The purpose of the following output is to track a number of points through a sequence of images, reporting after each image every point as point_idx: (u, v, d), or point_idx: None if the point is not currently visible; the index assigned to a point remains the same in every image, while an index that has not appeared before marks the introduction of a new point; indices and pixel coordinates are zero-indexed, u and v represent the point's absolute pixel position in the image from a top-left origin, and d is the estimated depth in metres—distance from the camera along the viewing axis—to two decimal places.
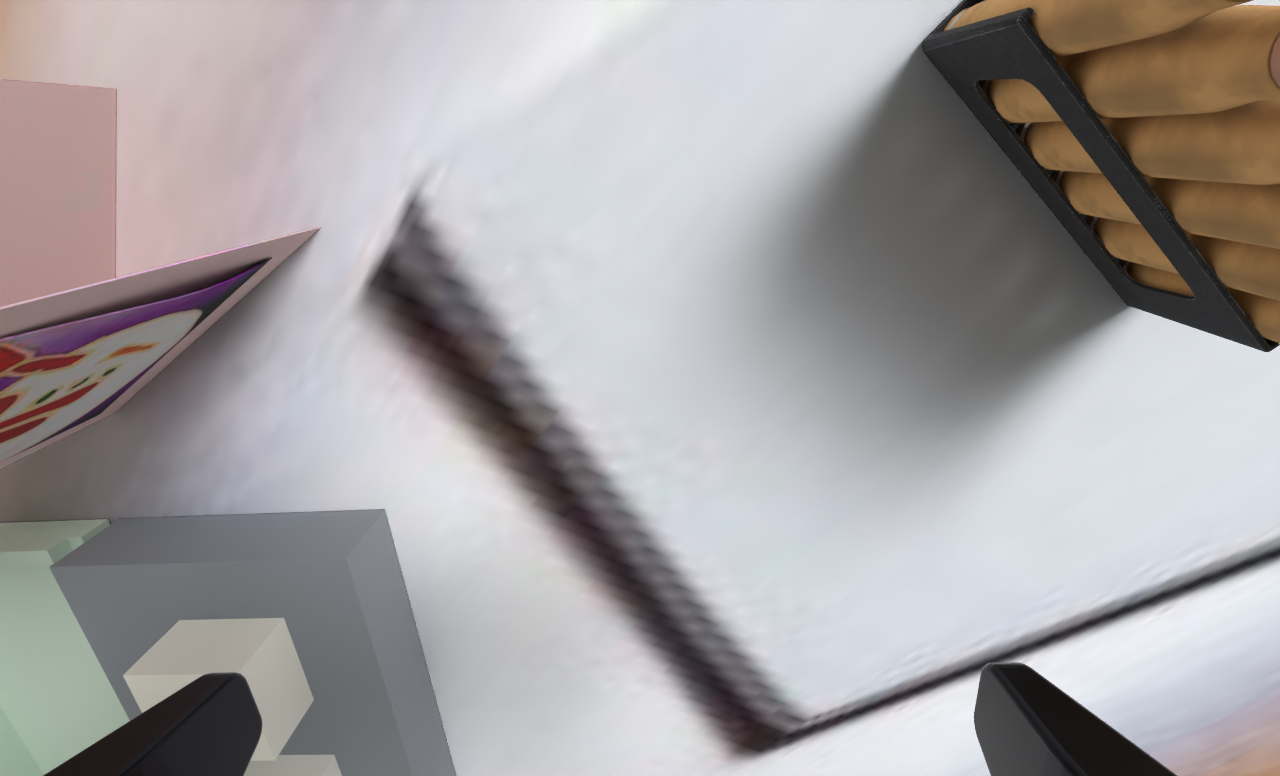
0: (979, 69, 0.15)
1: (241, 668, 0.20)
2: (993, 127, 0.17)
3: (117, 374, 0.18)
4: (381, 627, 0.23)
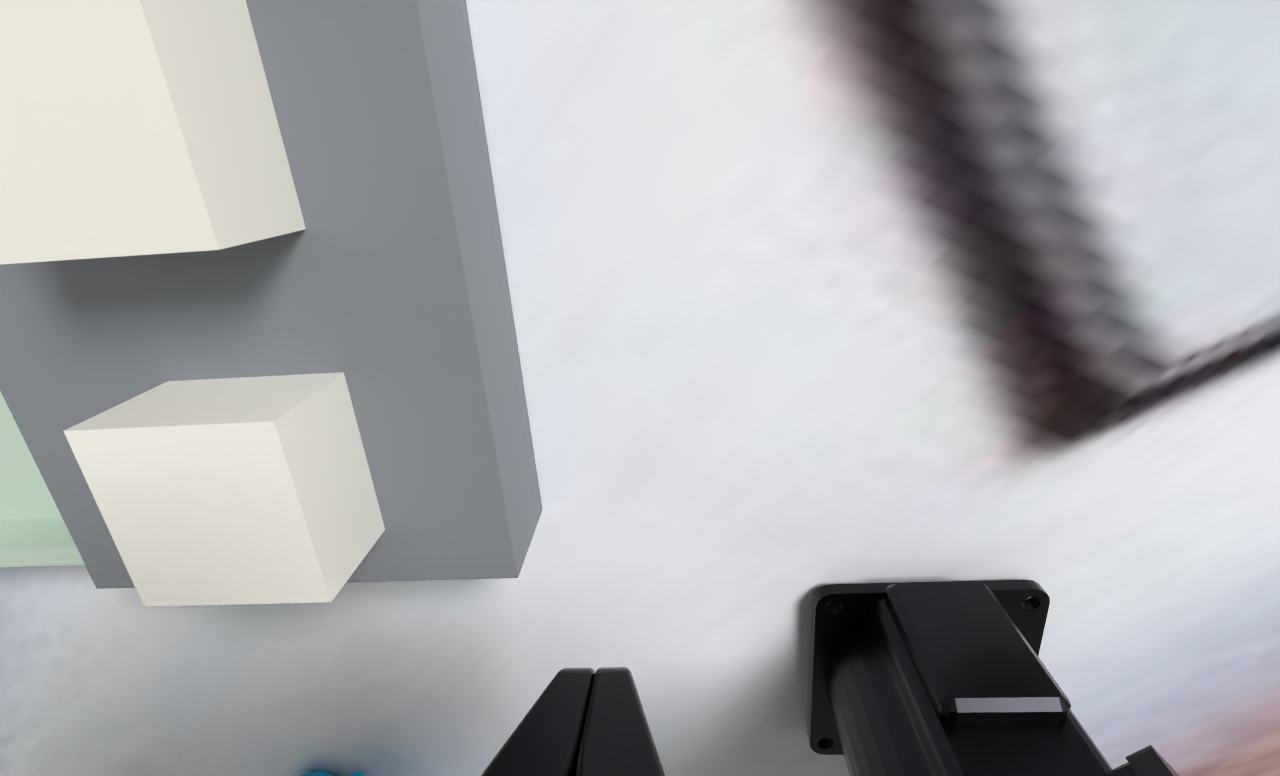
0: None
1: None
2: None
3: None
4: (441, 63, 0.12)
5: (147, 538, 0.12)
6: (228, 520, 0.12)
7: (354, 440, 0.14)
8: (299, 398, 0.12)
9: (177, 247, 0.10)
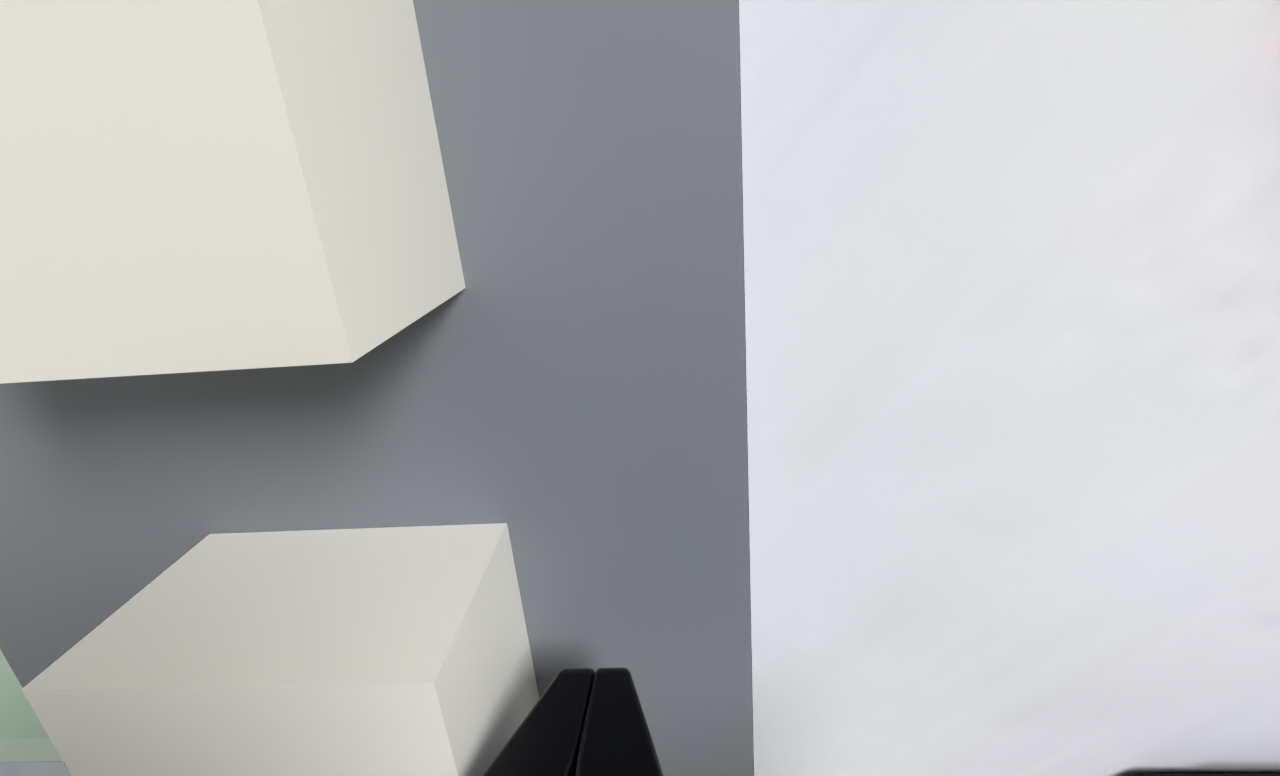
0: None
1: None
2: None
3: None
4: None
5: None
6: None
7: (519, 632, 0.08)
8: (457, 601, 0.06)
9: (260, 357, 0.04)
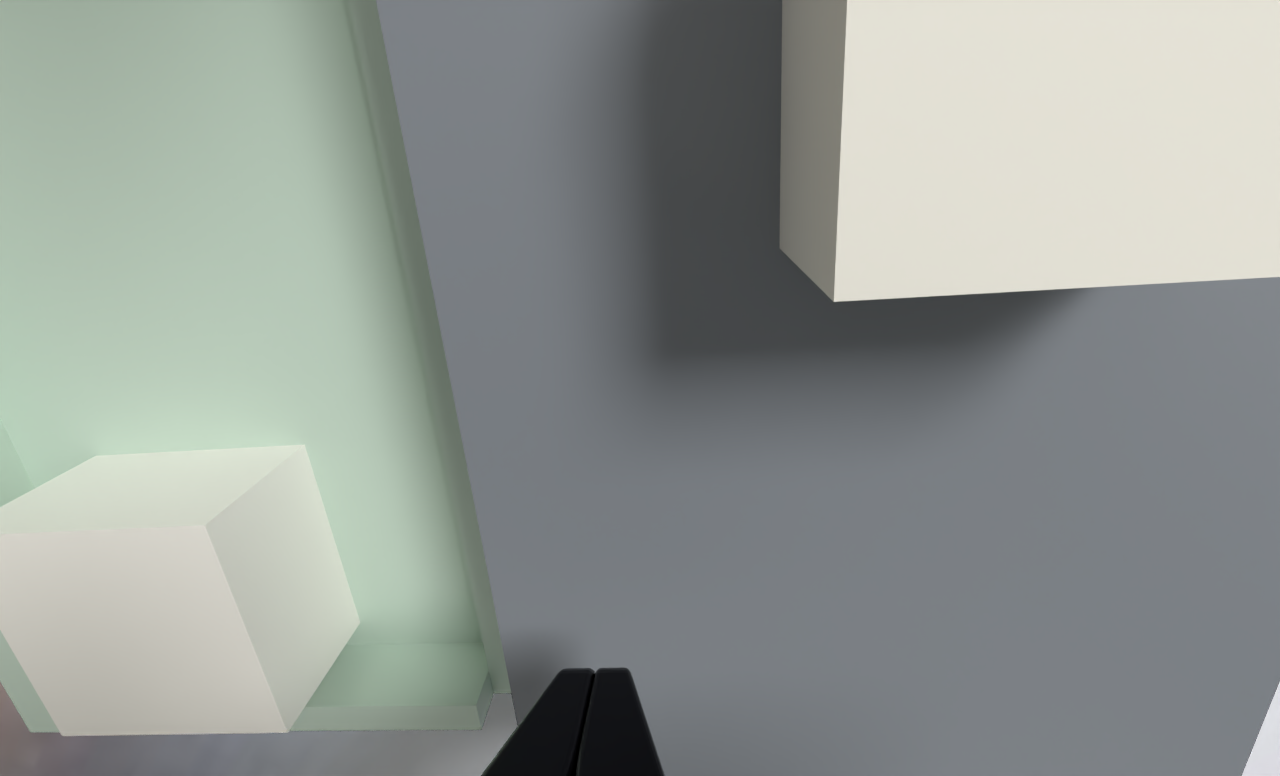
0: None
1: None
2: None
3: None
4: None
5: None
6: None
7: None
8: (48, 485, 0.10)
9: None
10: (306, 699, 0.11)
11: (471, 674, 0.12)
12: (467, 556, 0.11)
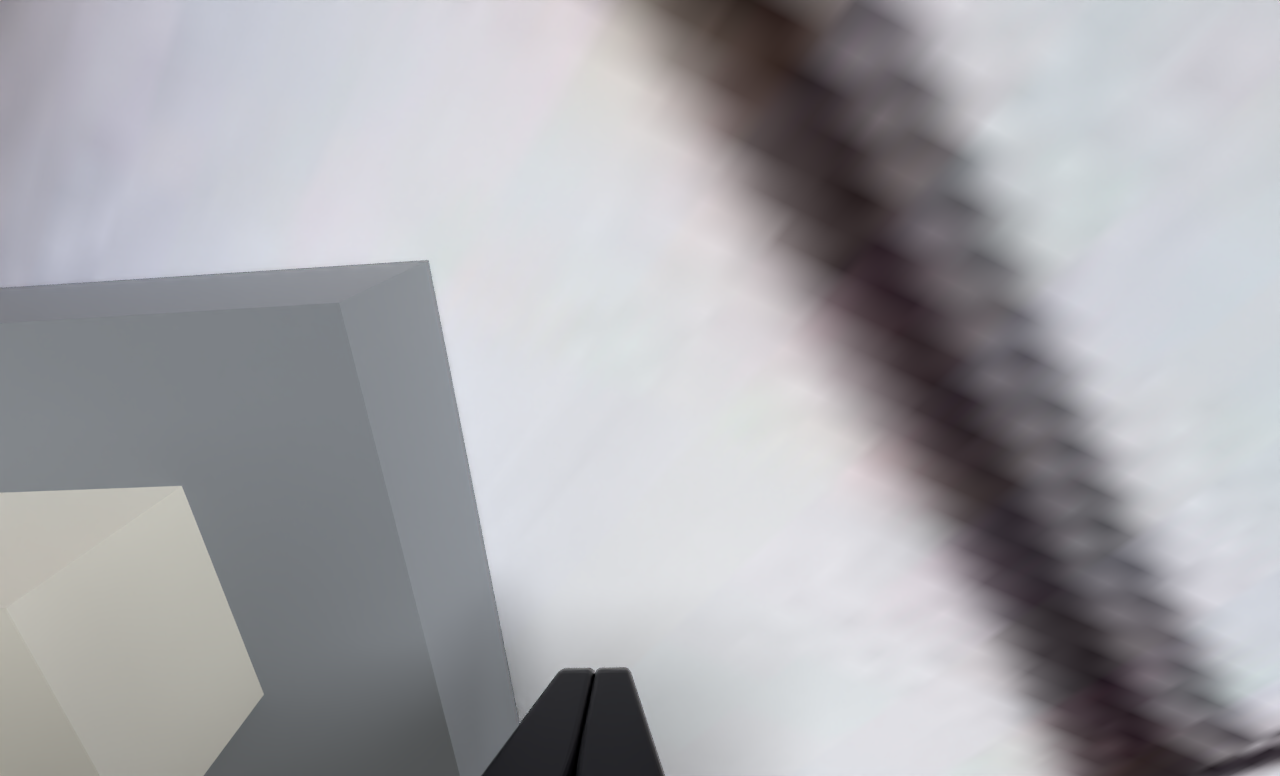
0: None
1: (22, 595, 0.07)
2: None
3: None
4: (423, 522, 0.10)
5: None
6: None
7: None
8: None
9: None
10: None
11: None
12: None
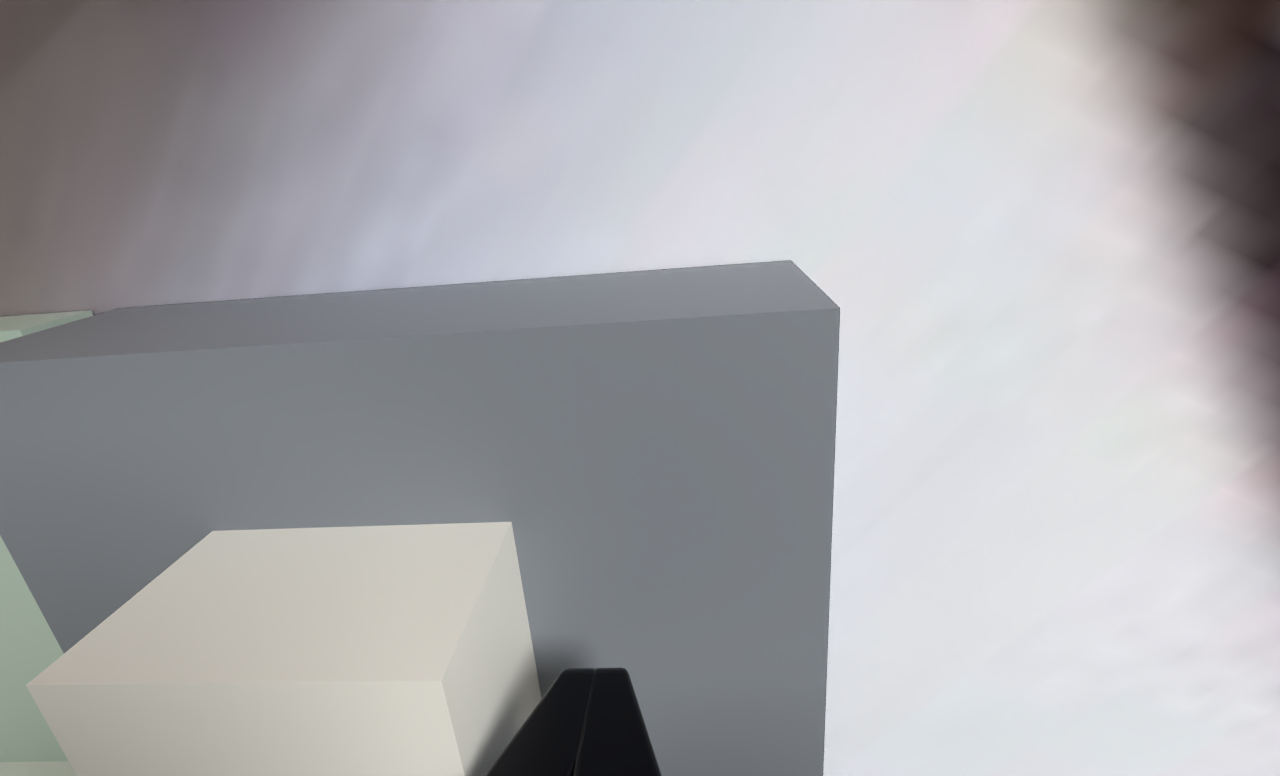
0: None
1: (444, 663, 0.06)
2: None
3: None
4: None
5: None
6: None
7: None
8: None
9: None
10: None
11: None
12: None
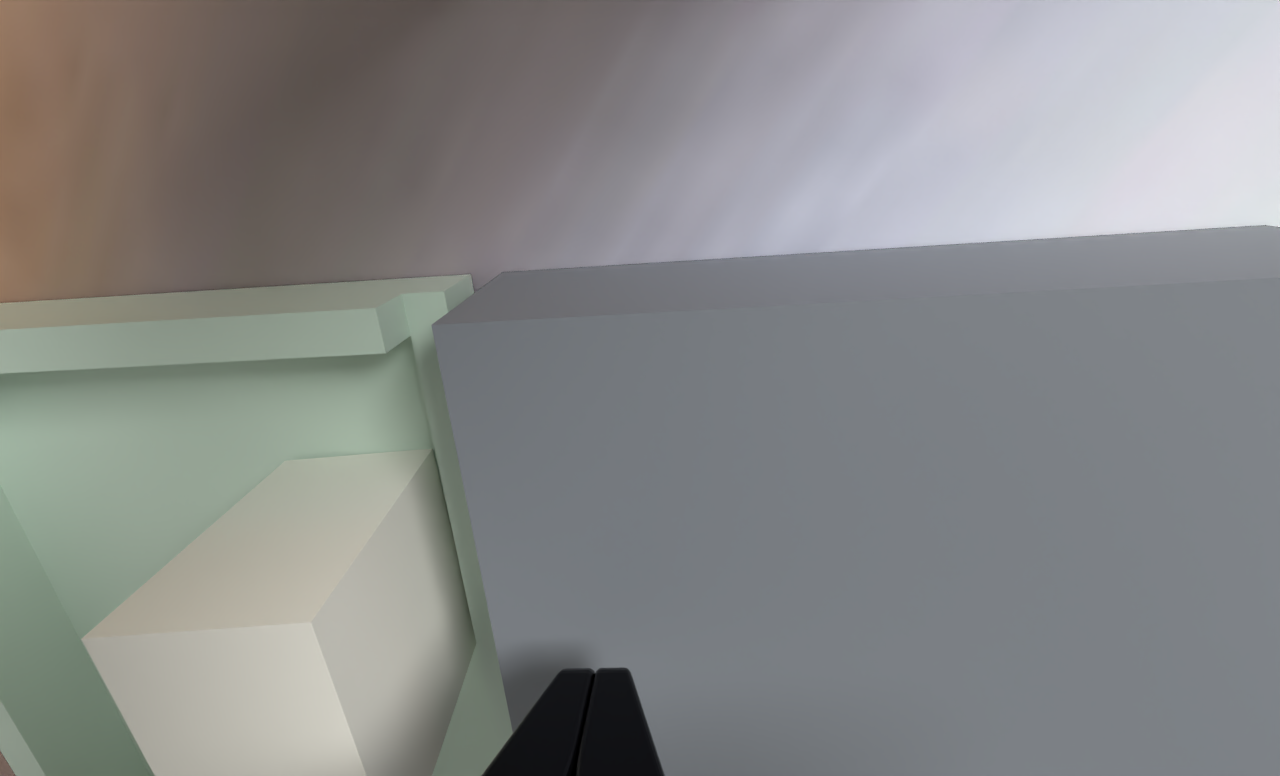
0: None
1: (103, 634, 0.07)
2: None
3: None
4: None
5: None
6: None
7: None
8: None
9: None
10: None
11: None
12: None
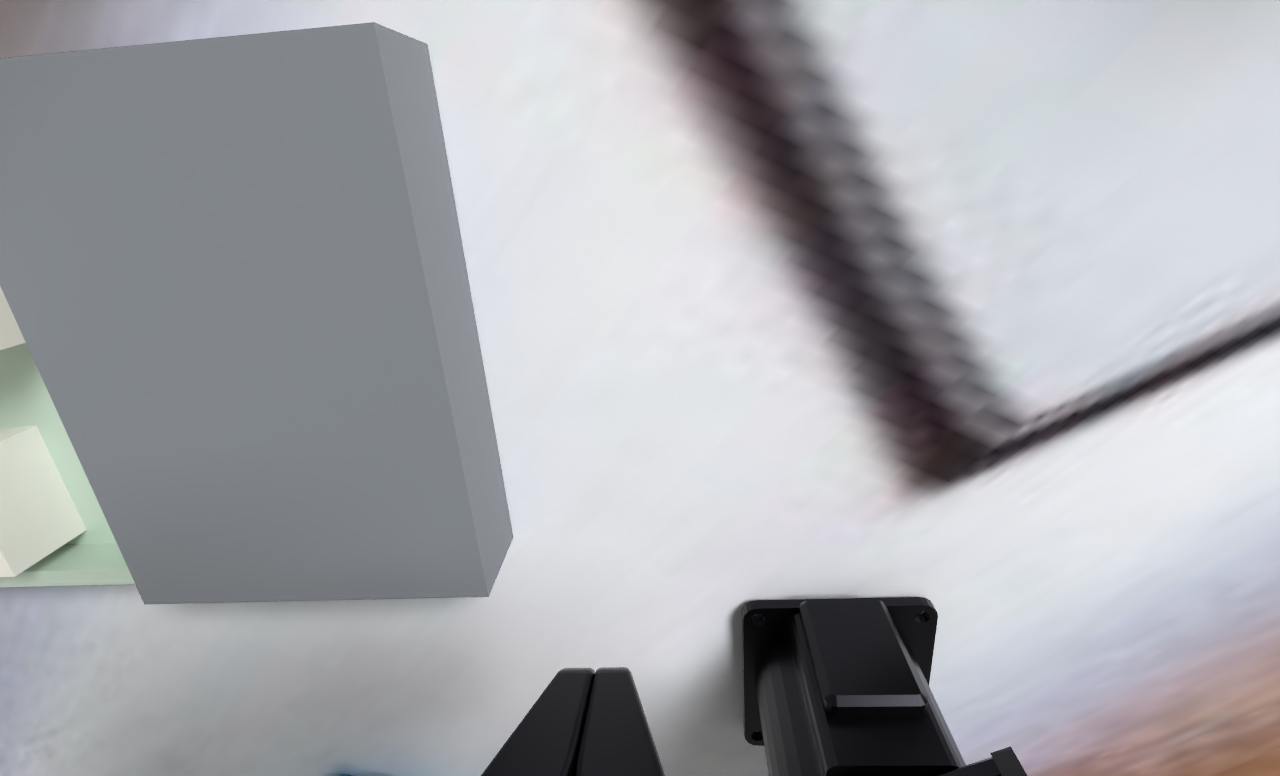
0: None
1: None
2: None
3: None
4: (423, 203, 0.15)
5: None
6: None
7: None
8: None
9: None
10: (32, 563, 0.20)
11: None
12: None
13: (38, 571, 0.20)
